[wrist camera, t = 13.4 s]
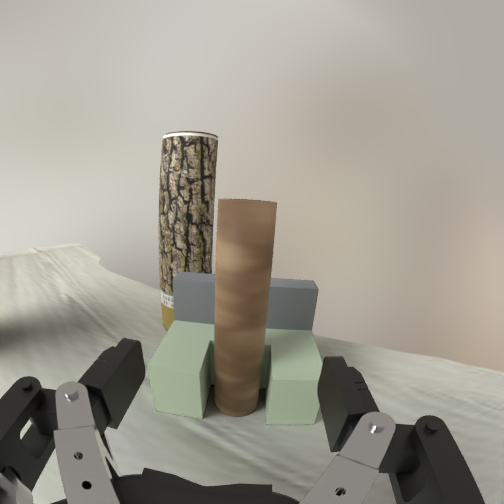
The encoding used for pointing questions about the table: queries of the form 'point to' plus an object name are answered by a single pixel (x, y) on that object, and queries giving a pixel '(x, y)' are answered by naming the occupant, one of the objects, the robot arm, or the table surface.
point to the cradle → (202, 375)
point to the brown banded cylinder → (241, 300)
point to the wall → (279, 306)
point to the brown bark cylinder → (185, 209)
